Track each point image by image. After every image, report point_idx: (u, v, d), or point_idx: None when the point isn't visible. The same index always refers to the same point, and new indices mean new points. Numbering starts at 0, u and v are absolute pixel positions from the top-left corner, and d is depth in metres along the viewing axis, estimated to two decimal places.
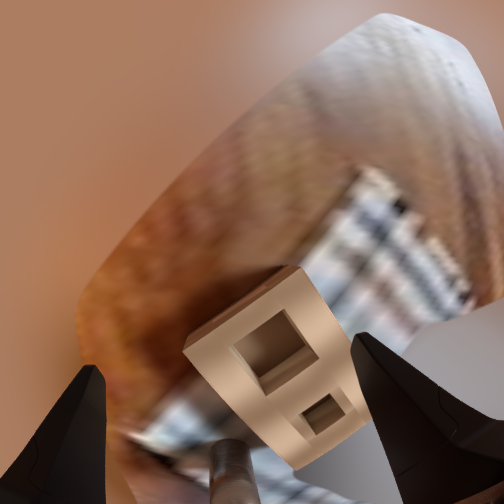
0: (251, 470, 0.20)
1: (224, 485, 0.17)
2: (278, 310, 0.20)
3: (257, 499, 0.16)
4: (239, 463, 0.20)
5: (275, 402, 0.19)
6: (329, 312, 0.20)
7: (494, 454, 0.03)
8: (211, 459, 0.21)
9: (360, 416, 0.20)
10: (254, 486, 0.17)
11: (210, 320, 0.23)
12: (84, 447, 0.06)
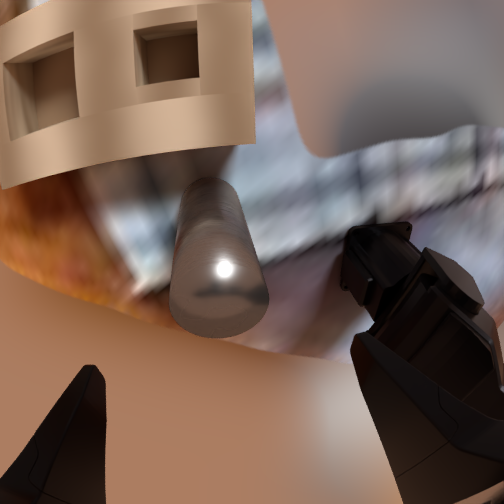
0: (211, 199, 0.15)
1: None
2: (1, 70, 0.08)
3: (215, 234, 0.12)
4: (189, 206, 0.16)
5: (95, 109, 0.11)
6: (34, 9, 0.07)
7: (494, 454, 0.03)
8: None
9: (224, 3, 0.09)
10: (212, 217, 0.13)
11: None
12: (84, 447, 0.06)
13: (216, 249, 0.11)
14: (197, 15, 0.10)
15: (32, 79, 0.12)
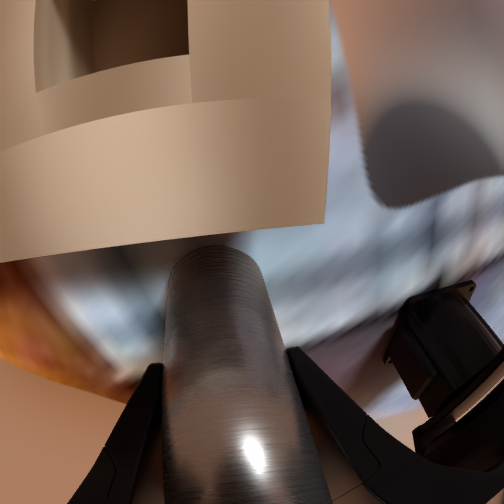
0: (222, 320, 0.08)
1: (161, 435, 0.06)
2: None
3: (243, 454, 0.05)
4: (180, 328, 0.08)
5: None
6: None
7: None
8: None
9: None
10: (230, 390, 0.06)
11: None
12: (159, 452, 0.06)
13: None
14: None
15: None
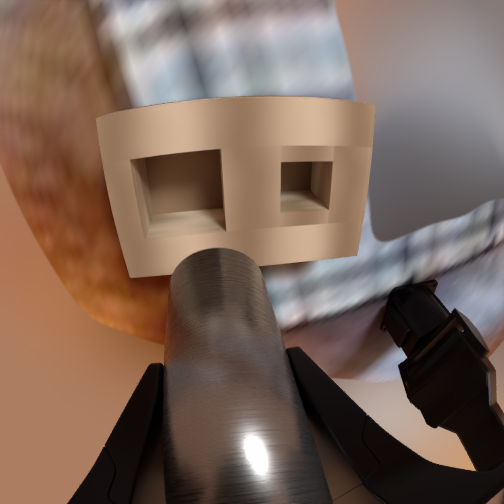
0: (223, 322, 0.08)
1: None
2: (129, 166, 0.14)
3: (244, 455, 0.05)
4: (181, 330, 0.08)
5: (242, 226, 0.17)
6: (168, 107, 0.13)
7: None
8: None
9: (354, 147, 0.15)
10: (231, 392, 0.06)
11: None
12: (159, 452, 0.06)
13: None
14: (333, 156, 0.15)
15: (145, 164, 0.17)
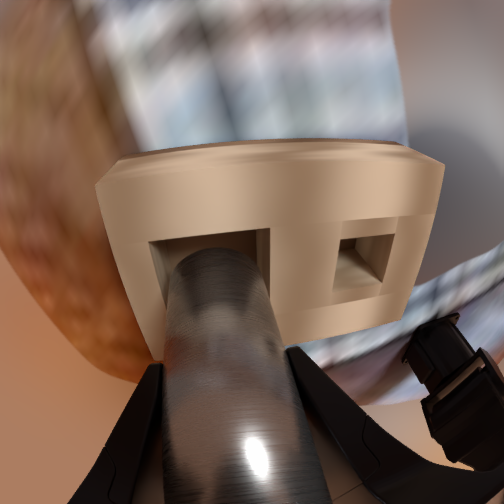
0: (223, 322, 0.08)
1: None
2: (147, 250, 0.11)
3: (243, 455, 0.05)
4: (180, 329, 0.08)
5: (288, 309, 0.14)
6: (198, 172, 0.10)
7: None
8: None
9: (418, 215, 0.12)
10: (230, 392, 0.06)
11: None
12: (159, 452, 0.06)
13: None
14: (396, 228, 0.12)
15: None
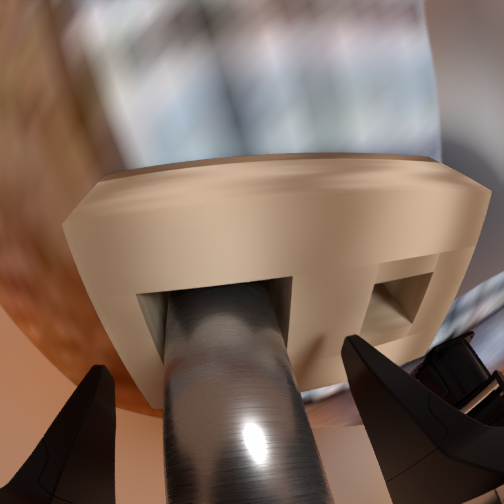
0: (222, 307, 0.08)
1: (163, 418, 0.07)
2: (135, 303, 0.08)
3: (241, 430, 0.05)
4: (181, 315, 0.09)
5: (307, 359, 0.11)
6: (199, 209, 0.07)
7: (484, 462, 0.03)
8: None
9: (459, 250, 0.10)
10: (229, 371, 0.06)
11: None
12: (94, 448, 0.06)
13: (249, 482, 0.04)
14: (435, 266, 0.10)
15: None
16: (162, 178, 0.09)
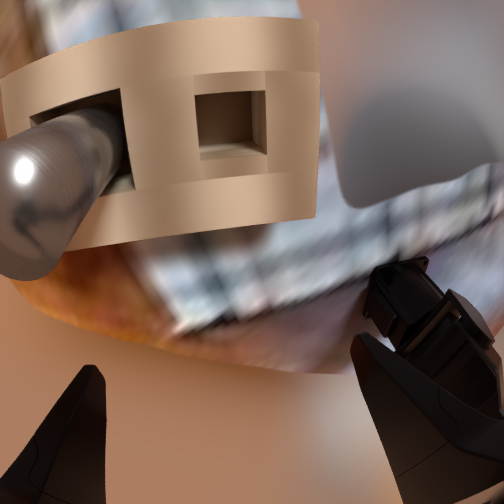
0: (71, 112, 0.09)
1: None
2: (28, 124, 0.09)
3: (27, 130, 0.06)
4: None
5: (153, 182, 0.12)
6: (64, 52, 0.08)
7: (494, 454, 0.03)
8: None
9: (293, 71, 0.11)
10: (47, 121, 0.07)
11: None
12: (84, 447, 0.06)
13: (5, 140, 0.05)
14: (265, 84, 0.11)
15: None
16: None
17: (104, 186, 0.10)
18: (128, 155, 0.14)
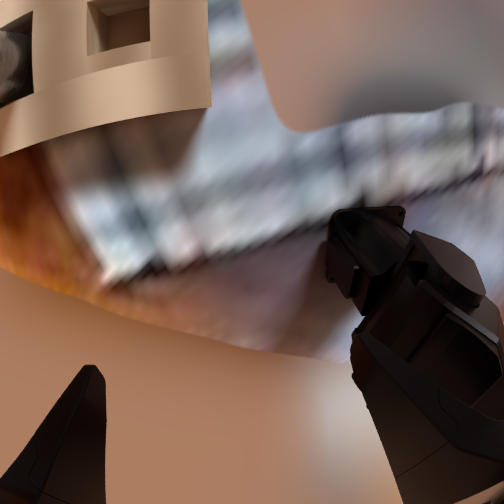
0: None
1: None
2: None
3: None
4: None
5: (48, 82, 0.09)
6: None
7: (494, 454, 0.03)
8: None
9: None
10: None
11: None
12: (84, 447, 0.06)
13: None
14: None
15: None
16: None
17: (0, 80, 0.07)
18: None
